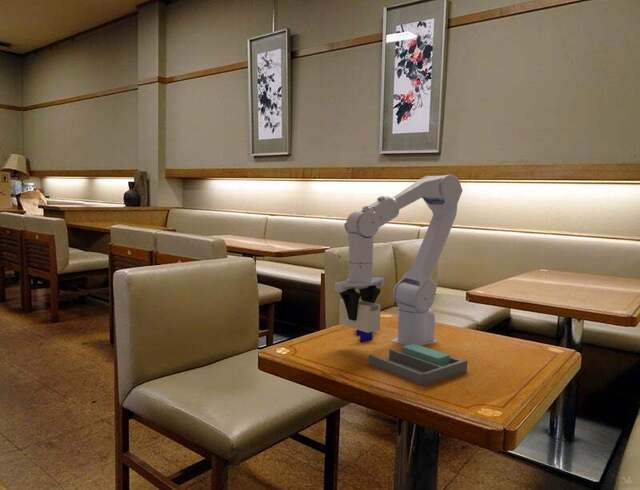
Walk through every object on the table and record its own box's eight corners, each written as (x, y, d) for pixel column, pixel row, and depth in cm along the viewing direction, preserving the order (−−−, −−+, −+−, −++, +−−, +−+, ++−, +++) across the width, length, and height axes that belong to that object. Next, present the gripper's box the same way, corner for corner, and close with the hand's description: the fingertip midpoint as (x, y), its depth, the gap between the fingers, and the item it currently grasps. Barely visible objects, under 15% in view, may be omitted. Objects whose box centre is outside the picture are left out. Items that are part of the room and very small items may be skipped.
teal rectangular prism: (413, 356, 112) (414, 343, 111) (449, 368, 104) (450, 355, 104) (401, 359, 109) (402, 346, 109) (437, 372, 101) (438, 358, 101)
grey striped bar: (350, 321, 121) (351, 297, 121) (380, 330, 113) (380, 304, 113) (338, 323, 119) (339, 299, 118) (367, 332, 111) (368, 306, 110)
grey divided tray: (409, 354, 115) (410, 342, 114) (466, 374, 102) (467, 360, 102) (368, 366, 106) (368, 353, 106) (425, 389, 94) (425, 374, 93)
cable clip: (358, 329, 137) (358, 309, 136) (373, 330, 136) (374, 309, 135) (354, 341, 125) (354, 319, 124) (371, 343, 124) (372, 320, 124)
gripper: (370, 258, 122) (369, 311, 123) (326, 262, 113) (325, 319, 114) (391, 261, 116) (389, 316, 118) (346, 266, 107) (345, 325, 109)
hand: (359, 318), depth 116 cm, fingers closed on grey striped bar, 4 cm apart
